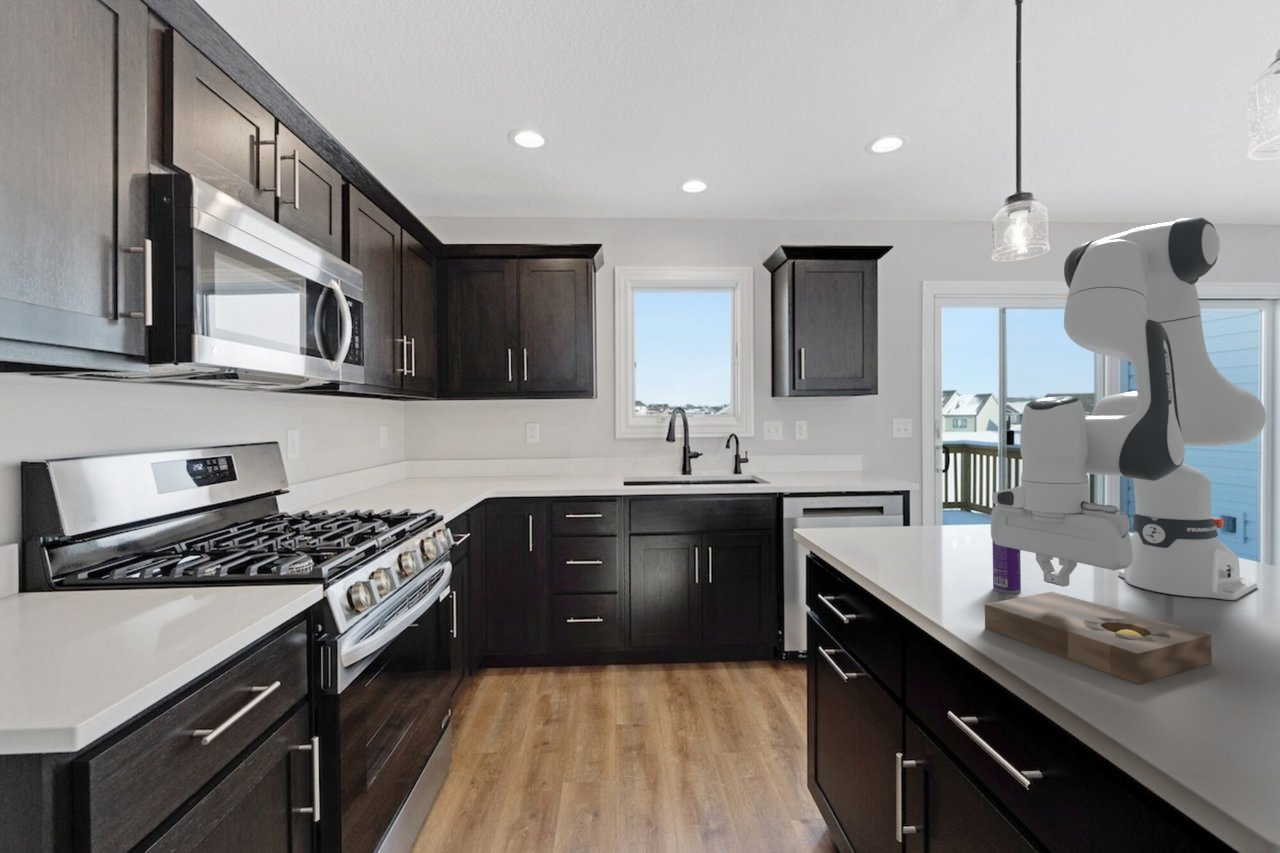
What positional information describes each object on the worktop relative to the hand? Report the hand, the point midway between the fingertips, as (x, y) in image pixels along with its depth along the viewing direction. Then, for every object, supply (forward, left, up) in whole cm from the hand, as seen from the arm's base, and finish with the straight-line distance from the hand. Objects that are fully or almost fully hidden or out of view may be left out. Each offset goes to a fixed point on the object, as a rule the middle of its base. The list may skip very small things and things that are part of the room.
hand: (1056, 584), depth 93 cm
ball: (+1, +11, -6) cm, 12 cm away
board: (+1, +5, -8) cm, 9 cm away
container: (-13, -19, -8) cm, 25 cm away
